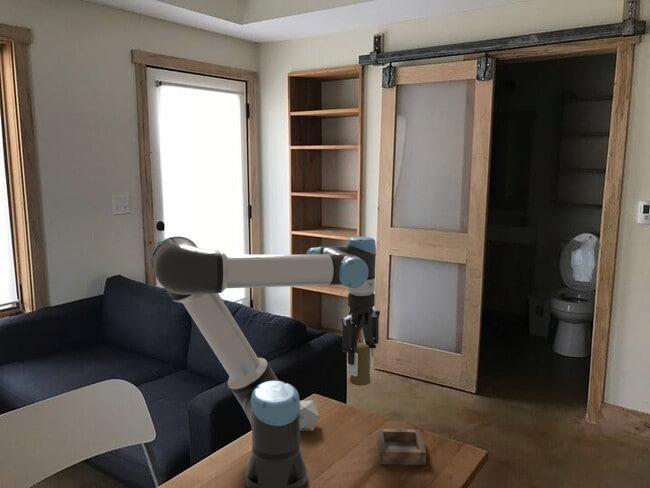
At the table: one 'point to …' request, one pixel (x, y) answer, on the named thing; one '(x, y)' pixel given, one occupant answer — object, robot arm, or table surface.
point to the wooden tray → (401, 447)
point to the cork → (362, 366)
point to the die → (308, 415)
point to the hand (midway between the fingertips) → (360, 371)
